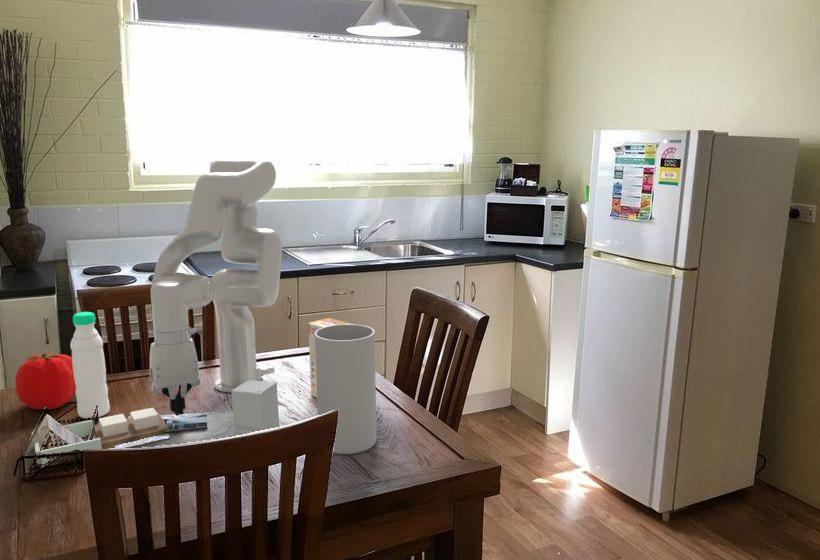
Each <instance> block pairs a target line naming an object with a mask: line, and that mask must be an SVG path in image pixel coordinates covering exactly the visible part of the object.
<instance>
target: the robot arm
mask: <svg viewBox="0 0 820 560" xmlns="http://www.w3.org/2000/svg"><path fill="white" fill-rule="evenodd" d="M276 171H277V170H276V168H275V166H274V164H273V163H272V162H271V161H270V160H269V159H267V158H257V157H256V158H255V157H254V158H250V157H249V158H247V157H245V158H244V157H243V158H242V157H230V158H228V157H226V158H220V159H216V160H214V161H213V162H212V163H211V165H210V169H209V172H207V173H204V174H202V175H200V176H199V177H198V178H197V180H196V183H195V185H194V190H193V194H192V198H191V202H190V206H189V210H188V214H187V217H186V222H185V225H184V228H183V230H182V231H181V232H180V233H179V234H178V235H177V236H175V237H174V238H173V239H172V240H171V241H170V242H169V243H168V245H167V246H166V247H165V248H164V249H163V250H162V252H161V253H160V255H159V257H158V258H157V261H156V265H155V268H154V272H153V276H152V281H151V287H150V300H151V315H152V324H153V336H154V341H153V342H151V344H150V348H149V349H150V350H149V379H150V382H151V388H150V390H151V393H152V394H163V395H164V396H166V397H168V398H169V406H170V411H171V412H173V414H174V415H175V416H176V417H177V416H179V415H180V416H182V415H184V410H185V409H186V401H185V399H186V397H187V394H188V393H189V391H191V389H193V388H194V387H197V386H199V385H201V380H200V368H199V367H200V366H199V359H198V355H197V354H198V353H197V350H196V346H195V342H194V340H193V337H192V335H193V334H194V335H195V334H196V333H197V329H196V327H191V326H190V323H189V321H190V319H189V310H192V309H199V308H204V307H206V306H208V305H209V304H210V303H211V302H213V305H214V310H215V315H216V316H215V317H216V328H217V330H216V331H217V346H218V347H217V348H218V359H219V360H218V361H219V362H218V363H219V374H220V375H219V376H220V377H219V378H217V379H216V380H215V381H214V388H215V389H216V390H217V391H220V392H224V393H231V391H232V390H233V389H235V388H236V387H238V386H240V385H241V384H243V383H244V382H246V381H248V380H256V381H264V378H263V377H264V376H265V375H272V374H274V373H275V367H274V366H268V367H267V365H261V366H259V365H257V355H256V354H257V352H256V337H255V336H256V331H255V320H254V317H253V314H252V312H251V311H250V309H249V307H255V308H267V307H270V306H273V305H274V304H275V302H276V300H277V298H278V295H279V288H280V280H281V279H280V278H281V277H280V276H281V270H282V258H283V244H282V239H281V237H280V235H279V233H278V232H277V231H275V230H273V229H271V228H263V227H262V228H261V227H260V228H258V225H257V224H258V208H257V206H256V203H257V202H258V201H260V200H261V199H262V198H263V197H265V196H266V195H267V194H269V192H270V191H271V190H272V189H273V187H274V185H275V183H276V178H277V173H276ZM220 239H221V244H220V246H221V247H220V253H221V254H220V255H221V258H223V260H224V261H225V262H227V263H230V264H239V265H252V266H253V265H255V266H257V269H247V268H224V269H223V268H222V269H220V270H218V271H217V272H215V273H214V274H213V275H212V277H211V278H209V277H208V276H205V275H202V274H188V273H177V272H178V270H179V267H180V266H181V264H182V263H184V261H185V260H186V259H187V258H188V257H189V256H191V255H192V254H194V253H196V252H198V251H201V250H202V249H205V248H207V247H210V246H212V245H214V244H216V243H217V242H219V240H220ZM174 387H177V393H175V388H174Z"/></svg>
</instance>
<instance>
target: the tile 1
mask: <svg viewBox="0 0 820 560" xmlns="http://www.w3.org/2000/svg"><path fill="white" fill-rule="evenodd" d="M126 419H127V418H126V416H125V414H124V413H119V414H115V415H109V416H104V417H98V424H99V425H100V430H101V433H102V435H103V437H107V436H112V435H116V434H121V433H126V432H128V423H127V420H126Z"/></svg>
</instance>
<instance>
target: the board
mask: <svg viewBox="0 0 820 560" xmlns="http://www.w3.org/2000/svg"><path fill="white" fill-rule="evenodd" d="M156 412H157V411H156ZM157 414H158V418H159V425H158V426H153V427H149V428H144V429H140V430H135V429H134V427H133V425H132V423H131V417H128V418H126V420H127V423H128V432H126V433H121V434H116V435H112V436H107V437H103V435H102V433H101V430H100V425H99V423H98V424H93V425H94V435H95V437H96V438H101V445H102V449H106V448H115V447H114V446H116V445H119V444H123V443H128V442H133V441H137V440H140V439H144V438H148V437H153V436H158V435H161V434H163V433H164V432H165V431H167V430H169V431H170V427H169V426H168V425H166V424H167V423H166V421H165V420H164V419H163V417H162V416H161V415H160V413H159V412H157ZM165 423H166V424H165Z"/></svg>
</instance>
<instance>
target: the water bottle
mask: <svg viewBox="0 0 820 560" xmlns="http://www.w3.org/2000/svg"><path fill="white" fill-rule="evenodd" d="M72 324H73V326H74V327H75V331H74V333H73V337H72V338H71V340H70V344H69V345H70V350H71V357H72V364H73V373H74V380H75V385H76V391H75V398H76V406H77V415H78V416H79V417H80V418H81V419H85V420H86V419H87V420H88V418H91V419H93V418H92V416H93V415H94V412H95V409H96V406H97V405H98V418H102V417H103V416H104V417H105V415H107V414H108V413H109V412H110V409H111V408H110V401H109V396H108V395H109V390H108V389H109V388H108V384H107V372H106V371H107V368H106V359H105V353H104V348H103V347H104V341H103V339H102V337H101V336H100V334H99V332H98V330H97V329H96V328H95V324H96V315H95V313H94V312H90V311H82V312H77V313H74V314H73V315H72Z"/></svg>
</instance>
